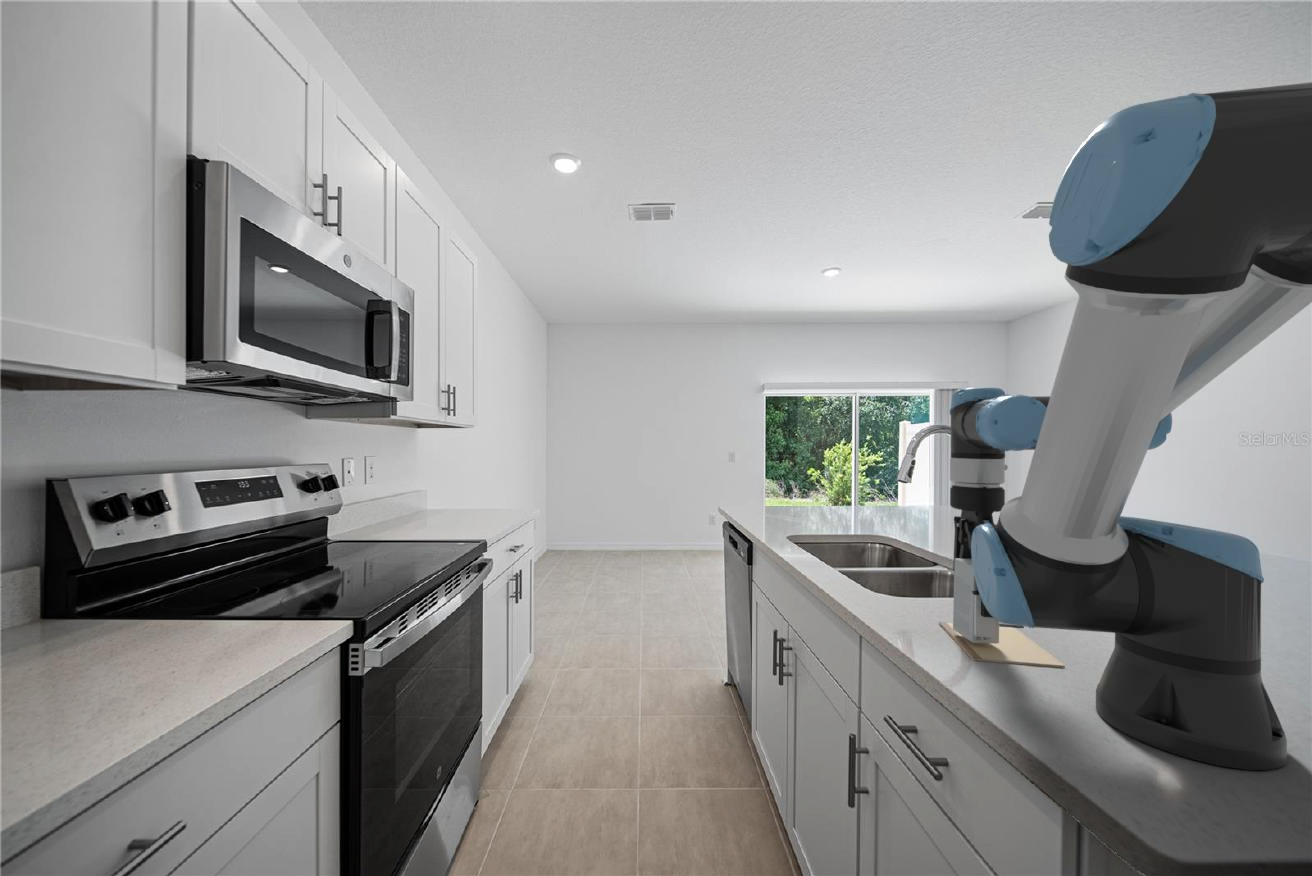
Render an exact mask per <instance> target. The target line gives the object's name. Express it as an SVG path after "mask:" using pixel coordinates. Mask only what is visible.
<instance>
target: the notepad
mask: <svg viewBox="0 0 1312 876" xmlns="http://www.w3.org/2000/svg"><path fill="white" fill-rule="evenodd" d="M938 624H939V626H940V625H941V626H942V627H941V626H940V627H941V628H942V629H943V630H944V629H945V630H944V631H945V632H946V633H947V634H948V635H949V636H950V638H952V640H953V639H954V642H955V643H956V644H957V645H958V646H959V647H960V648H961V649H962V650H963V652H964V653H965V654H966V655H967V656H968V657H969V658H970V659H971V660H972V661H980V662H981V661H983V662H990V663H1005V664H1015V665H1016V664H1017V665H1028V666H1038V667H1039V666H1040V667H1041V666H1043V667H1051V668H1066V665H1065V664H1064V663H1062V662H1060V661H1059V660H1058V659H1057V658H1055V657H1054V656H1053V655H1051V654H1050V653H1048V652H1047V651H1046V650H1045V649H1043V648H1042V647H1041V646H1039V645H1038V644H1037V643H1035V642H1034V641H1033V640H1032V639H1030V638H1029V637H1028V636H1026V635H1025V634H1024V633H1022V632H1021V631H1020V630H1019V629H1017V627H1010V626H999V643H972V642H971V641H970V640H968V639H967V638H965V637H964V636H962V635H961V634H959V633H958V632H956V631H955V630H953V622H946V621H939V622H938Z"/></svg>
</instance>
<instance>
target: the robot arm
mask: <svg viewBox="0 0 1312 876" xmlns="http://www.w3.org/2000/svg"><path fill="white" fill-rule="evenodd" d="M1049 214H1050V216H1049V222H1048V225H1049V226H1050V227H1051V230H1050V231H1049V233H1048V241H1049V247H1050V249H1051V252H1052V254H1053V256H1054V257H1055V258H1056V259H1057V260H1058V261H1059V262H1061V263H1064V264H1066V269H1065V272H1064V279H1065V280H1066V282H1067V283H1068V284H1069V285H1070V287H1072V288H1073V290H1074V291H1075V292H1076V293H1077V294H1078V299H1077V303H1076V306H1075V309H1074V310H1075V311H1074V313H1073V317H1072V319H1071V323H1070V327H1069V331H1068V334H1067V337H1066V341H1065V345H1064V348H1063V351H1062V354H1061V359H1060V362H1059V365H1058V369H1057V373H1056V375H1055V379H1054V382H1053V386H1052V389H1051V393H1050V395H1049V396H1040V395H1039V396H1029V395H1024V394H1006V393H1005V391H1004V389H1003V388H1000V387H968V388H960V389H956V390H955V391H953V393H952V394H951V403H950V404H951V405H950V409H949V414H950V457H949V481H951V483H953V484H952V485H951V486H950V488H949V491H950V492H949V506H950V507H951V508H953V509H955V510H960V511H961V514H960V515H954V517H953V524H954V525H953V526H954V541H953V543H954V544H953V563H952V570H953V572H954V568H955V558H963V559H972V564H973V570H974V576H975V580H976V584H977V591H972V593H973V595H974V635H975V636H977V637H990V638H995V619H996V620H998V621H1000V622H1003V623H1006V624H1013V625H1020V626H1023V627H1027V628H1029V629H1031V628H1032V629H1036V628H1040V629H1053V630H1055V629H1056V630H1067V631H1068V630H1069V631H1084V632H1085V631H1086V632H1100V633H1114V648H1113V651H1112V653H1111V655H1110V658H1109V660H1108V662H1107V664H1106V666H1105V668H1104V670H1103V673H1102V674H1101V675H1102V676H1101V677H1100V678H1099V679H1100V680H1099V682H1098V684H1097V686H1096V689H1095V710H1096V712H1097V713H1098V715H1099V717H1101V718H1102V719H1103V720H1104V721H1105V722H1106V723H1108V724H1109V725H1110V726H1112V727H1114V728H1115V729H1117V730H1119V731H1120V732H1122V733H1124V734H1125V735H1127V736H1130V737H1131V738H1133V739H1136V740H1138V741H1140V742H1142V743H1145V744H1147V745H1149V746H1152V747H1155V748H1157V749H1160V750H1163V751H1165V752H1168V753H1171V754H1174V755H1177V756H1181V757H1184V758H1187V759H1191V760H1195V761H1199V762H1203V763H1206V764H1211V765H1216V766H1221V767H1228V768H1233V769H1240V770H1251V771H1253V770H1254V771H1262V770H1263V771H1265V770H1266V771H1267V770H1274V769H1278V768H1281V767H1283V766H1285V765H1286V763H1287V761H1288V741H1287V740H1288V739H1287V735H1286V733H1285V731H1284V729H1283V727H1282V724H1281V721H1280V719H1279V717H1278V714H1277V712H1276V710H1275V708H1274V705H1273V703H1272V700H1271V699H1270V696H1269V694H1268V692H1267V691H1268V690H1267V688H1266V687H1265V685H1264V682H1263V679H1262V678H1263V677H1262V584H1263V583H1264V582H1265V578H1264V577H1263V572H1262V565H1261V558H1260V556H1261V555H1260V551H1259V550H1260V549H1259V548H1258V546H1257V545H1256V544H1255V543H1254V542H1253V541H1251V539H1249V538H1247V537H1245V536H1242V535H1239V534H1235V533H1230V532H1225V531H1221V530H1216V529H1210V528H1209V529H1208V528H1203V527H1198V526H1192V525H1186V524H1179V523H1173V522H1168V521H1162V520H1156V519H1147V518H1140V517H1131V516H1124V515H1123V516H1122V512H1123V510H1124V508H1125V505H1126V504H1127V501H1128V500H1129V499H1128V498H1129V496H1130V493H1131V491H1132V490H1133V489H1132V488H1133V486H1134V484H1135V482H1136V479H1137V476H1138V474H1139V471H1140V470H1141V467H1142V464H1143V462H1144V459H1145V457H1146V455H1147V453H1148V450H1149V451H1150V450H1154V449H1156V448H1158V447H1161V446H1162V445H1163V444H1164V443H1165V442H1166V440H1167V435H1168V434H1170V433H1171V431H1172V426H1173V415H1172V412H1173V411H1175V410H1176V409H1177V408H1179V407H1180V406H1181V405H1182V404H1184V403H1185V402H1186V401H1187V400H1189V399H1190V398H1191V397H1193V396H1194V395H1195V394H1196V393H1198V392H1199V391H1200V390H1201V389H1202V388H1204V387H1205V386H1207V385H1208V384H1209V383H1211V382H1212V381H1213V380H1215V379H1216V378H1217V377H1218V376H1219V375H1221V374H1223V372H1225V371H1226V370H1228V368H1230V367H1231V366H1232V365H1234V364H1235V363H1236V362H1237V361H1239V360H1240V359H1241V358H1243V357H1244V356H1245V355H1247V354H1248V353H1249V352H1250V351H1251V350H1253V349H1254V348H1255V347H1257V346H1258V345H1259V344H1260V343H1262V342H1263V341H1264V340H1266V339H1267V338H1268V337H1269V336H1270V335H1273V333H1275V332H1276V331H1277V330H1278V329H1279V328H1281V327H1282V326H1284V325H1285V324H1286V323H1287V322H1289V321H1290V320H1291V319H1292V318H1294V317H1295V316H1296V315H1298V314H1299V313H1300V312H1301V311H1303V310H1304V309H1305V308H1307V307H1308V306H1309V305H1310V304H1311V303H1312V81H1311V82H1302V83H1294V84H1283V85H1274V86H1273V85H1272V86H1264V87H1257V88H1256V87H1255V88H1244V89H1236V90H1235V89H1234V90H1227V91H1219V92H1209V93H1197V92H1196V93H1195V92H1191V93H1189V94H1186V95H1178V96H1175V97H1170V98H1164V99H1159V100H1155V101H1154V100H1153V101H1149V102H1143V103H1139V104H1134V105H1132V106H1131V105H1130V106H1128V107H1127V108H1123V109H1121V110H1120V111H1118V112H1116V113H1114V114H1113V115H1111V116H1109V117H1108V118H1107V119H1105V120H1104V121H1103V122H1101V123H1100V124H1099V125H1098V126H1097V127H1096V128H1095V129H1094V130H1093V131H1092V132H1091V134H1090V135H1089V136H1088V138H1087V139H1085V141H1084V142H1082V144H1081V145H1080V147H1079V148H1078V150H1077V151H1076V152H1075V154H1074V155H1073V156H1072V159H1071V160H1070V162H1069V163H1068V166H1067V167H1066V170H1065V171H1064V173H1063V175H1062V178H1061V180H1060V183H1059V184H1058V187H1057V190H1056V193H1055V196H1054V199H1053V202H1052V206H1051V210H1050V213H1049ZM1008 451H1010V452H1011V451H1012V452H1018V451H1019V452H1020V451H1034V452H1033V455H1032V457H1031V461H1030V465H1029V468H1028V472H1027V476H1026V478H1025V482H1024V486H1023V489H1022V493H1021V496H1017V497H1015V498H1012V499H1010V500H1008V501H1007V502H1006V501H1005V500H1006V497H1005V496H1006V490H1005V489H1004V487H1002V486H1000V485H1003V484H1004V483H1005V474H1006V473H1005V472H1006V471H1007V470H1008V469H1009V466H1008V465H1007V464H1005V462H1006V461H1005V458H1006V452H1008ZM995 512H996V513H998V512H1000V513H999V517H998V520H997V523H996V524H995V522H994V517H993V513H995Z"/></svg>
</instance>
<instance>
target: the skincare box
mask: <svg viewBox="0 0 1312 876" xmlns="http://www.w3.org/2000/svg"><path fill="white" fill-rule="evenodd" d="M953 573H954V574H953V575H954V577H953V613H952V615H953V618H952V623H953V630H955V631H956V632H958V633H959V634H961V635H962V636H964V637H965V638H967V639H968V640H970V641H971V642H972V643H999V627H1000V626H999V621H998V620H996V619H995V638H990V637H977V636H975V635H974V595H973V593H972V591H977V584H976V580H975V576H974V570H973V564H972V559H963V558H955V568H954V571H953Z"/></svg>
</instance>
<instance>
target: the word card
mask: <svg viewBox="0 0 1312 876" xmlns="http://www.w3.org/2000/svg"><path fill="white" fill-rule="evenodd" d="M999 627H1012V628H1024V626H1020V625H1013V624H1006V623H1003V622H1000V621H999Z"/></svg>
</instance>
